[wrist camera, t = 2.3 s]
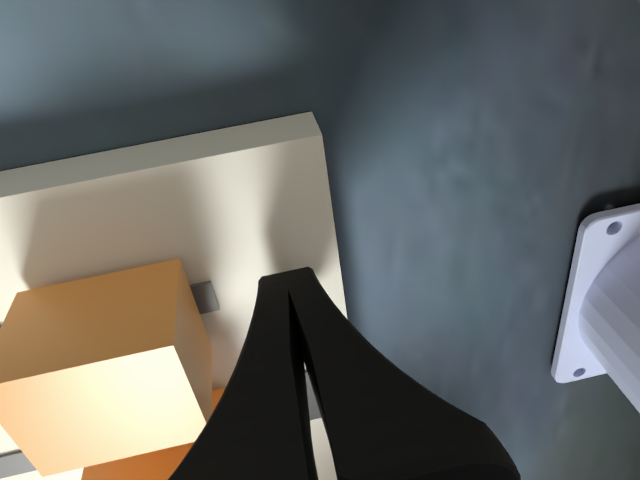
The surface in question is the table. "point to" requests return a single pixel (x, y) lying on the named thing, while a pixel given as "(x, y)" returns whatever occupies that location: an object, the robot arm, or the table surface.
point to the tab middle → (145, 461)
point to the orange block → (105, 368)
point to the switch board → (179, 232)
